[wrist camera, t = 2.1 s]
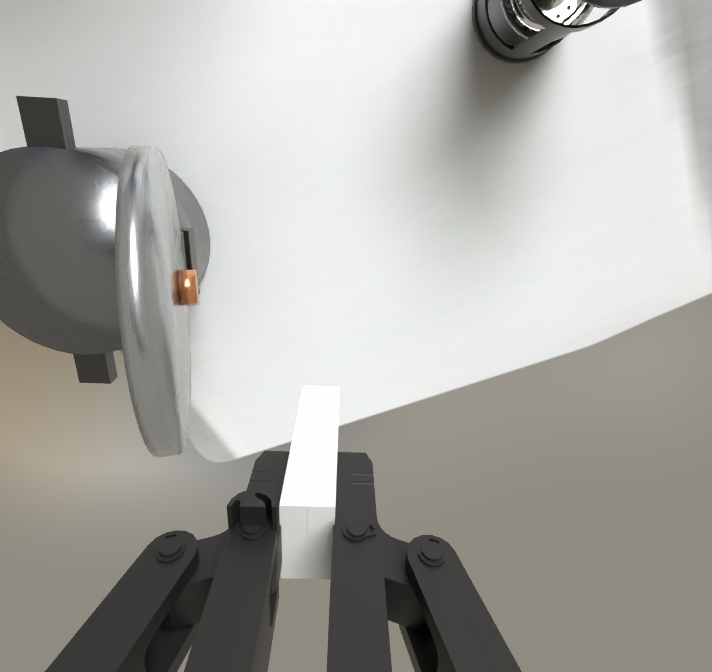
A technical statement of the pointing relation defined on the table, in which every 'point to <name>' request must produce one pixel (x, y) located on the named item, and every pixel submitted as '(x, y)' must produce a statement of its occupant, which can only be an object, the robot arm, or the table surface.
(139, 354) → the lid
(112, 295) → the pot
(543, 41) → the french press
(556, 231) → the table surface
